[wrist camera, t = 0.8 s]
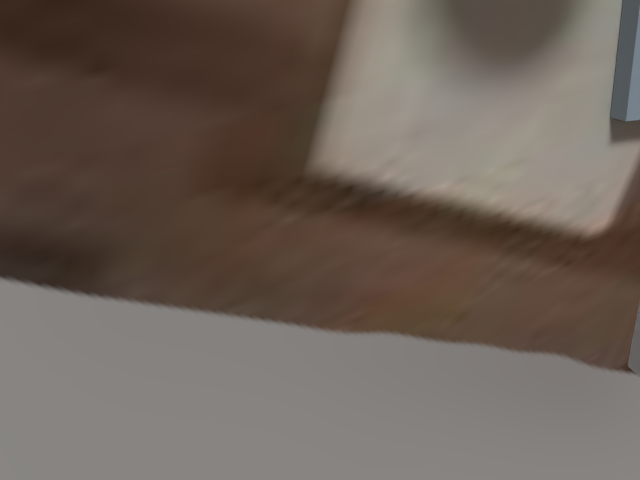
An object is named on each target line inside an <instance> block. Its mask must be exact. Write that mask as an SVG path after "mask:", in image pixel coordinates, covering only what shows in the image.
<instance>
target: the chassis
mask: <svg viewBox="0 0 640 480" xmlns="http://www.w3.org/2000/svg"><path fill="white" fill-rule="evenodd" d="M610 117H612V118H615V119H619V120H622V121H635V120H640V0H623V6H622V15H621V24H620V33H619V42H618V51H617V60H616V70H615V79H614V88H613V97H612V106H611V115H610Z"/></svg>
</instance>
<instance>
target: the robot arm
mask: <svg viewBox="0 0 640 480" xmlns="http://www.w3.org/2000/svg"><path fill="white" fill-rule="evenodd" d="M628 367H629V368H630V369H632V370H633V371H634V372H635V373H636V374H637V375H638V376H640V302H639V307H638V313H637V318H636V324H635V329H634V335H633V340H632V346H631V351H630V357H629V362H628Z"/></svg>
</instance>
